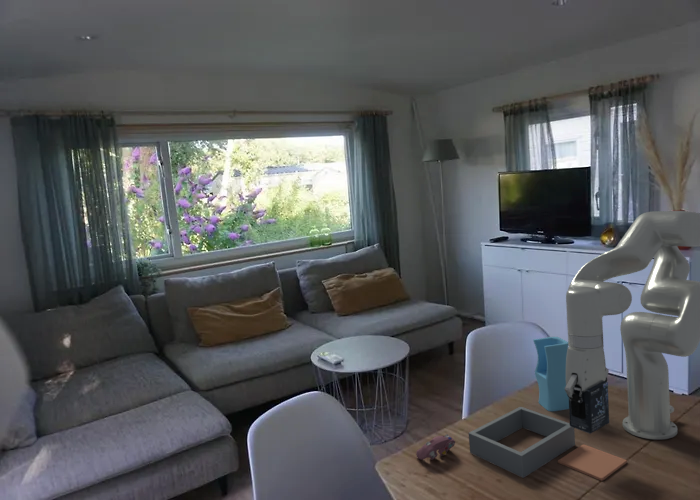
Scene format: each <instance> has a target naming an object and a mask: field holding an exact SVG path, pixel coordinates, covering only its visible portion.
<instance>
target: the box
mask: <svg viewBox="0 0 700 500" xmlns="http://www.w3.org/2000/svg"><path fill="white" fill-rule="evenodd" d="M575 387H577V388H580V389H581V387H580V386H578V385H576V386H575ZM575 393H576V394H577V395H578V396H579V395H580V391H577V390H575ZM583 402H585V416H586V418H585V419H581V418H578V417H575V416H572V413H571V400H569V409H568V411H569V412H568V415H569V417H568V418H569V423H570V426H571V427H573V428H574V429H576V430H579V431H582V432H584V433H586V434H590V435H591V434H592V433H595V432H596V431H598V430H600V429H601V428H602V427H603V428H604V427H605V426H607V425H609V424H610V405H609V382H608V381H607V382H606V381H603V382H601V383H599V384H597V385H596V386H594V387H592V388H590V389H587V391H585V392H584V399H583Z"/></svg>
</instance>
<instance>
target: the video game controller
mask: <svg viewBox="0 0 700 500" xmlns="http://www.w3.org/2000/svg"><path fill="white" fill-rule="evenodd" d="M455 444H456V440H454V438H453V437H452V436H450V435H449V434H445V435H437V436H434V437H433V438H432V439H430V440H429V441H426V442H425V443H424V444H423V445H422V447H420V448H419V449H417V450H416V452H415V453H416V457H417V459H418V460H425V459H428V458H429V459H430V460H431V461H433V460H435V459H437V457H438V455H439V456H440V457H442V456H445V455H446V454H447V452H449V450H451V449H452V448H453V447H454V446H455ZM437 452H438V453H437Z"/></svg>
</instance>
